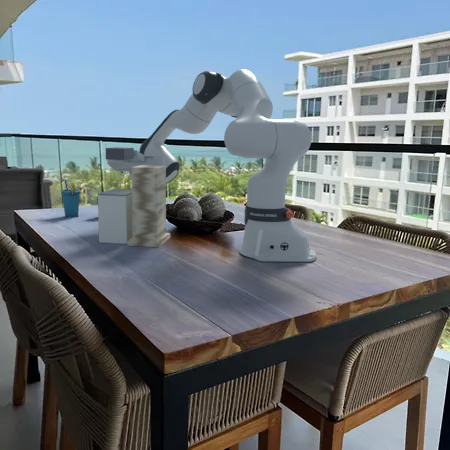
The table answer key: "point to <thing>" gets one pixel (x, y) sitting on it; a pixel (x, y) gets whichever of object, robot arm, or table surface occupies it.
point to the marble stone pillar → (148, 206)
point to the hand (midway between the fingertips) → (130, 152)
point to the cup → (70, 200)
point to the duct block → (115, 216)
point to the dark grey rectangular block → (119, 153)
